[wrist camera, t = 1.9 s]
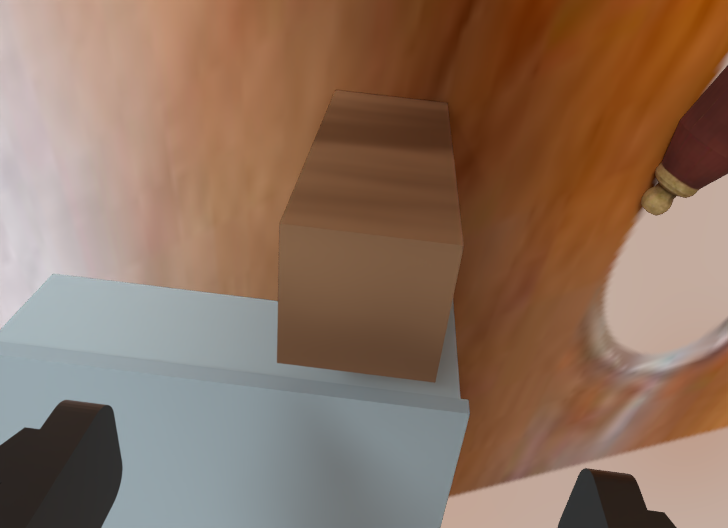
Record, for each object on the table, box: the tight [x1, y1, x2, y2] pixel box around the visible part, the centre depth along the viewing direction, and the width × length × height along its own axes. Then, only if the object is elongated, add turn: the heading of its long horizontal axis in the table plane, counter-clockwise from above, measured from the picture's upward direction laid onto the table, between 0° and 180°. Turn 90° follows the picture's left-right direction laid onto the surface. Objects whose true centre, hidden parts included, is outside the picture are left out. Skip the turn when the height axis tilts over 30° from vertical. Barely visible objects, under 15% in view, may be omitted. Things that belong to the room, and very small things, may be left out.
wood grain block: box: [277, 90, 464, 383], centre depth 22 cm, size 16×4×10 cm, turn 175°
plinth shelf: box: [0, 274, 470, 528], centre depth 25 cm, size 10×15×8 cm
